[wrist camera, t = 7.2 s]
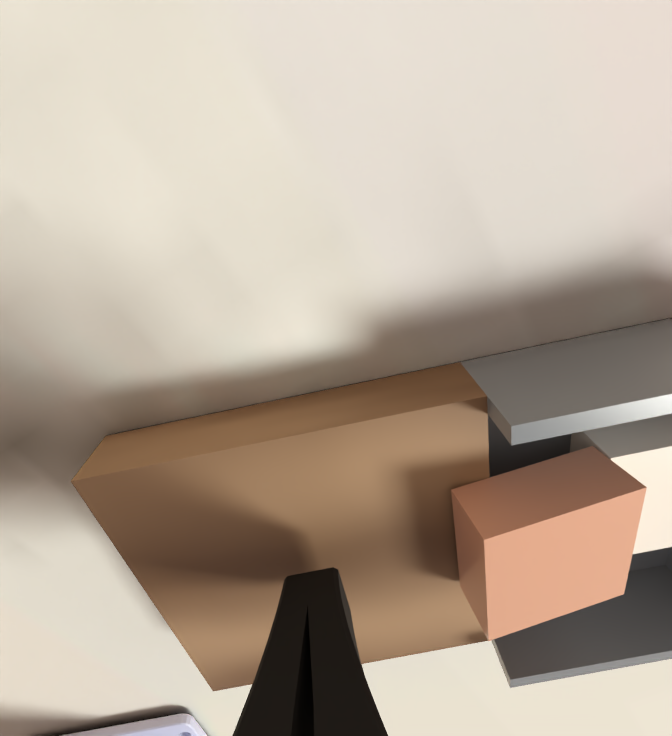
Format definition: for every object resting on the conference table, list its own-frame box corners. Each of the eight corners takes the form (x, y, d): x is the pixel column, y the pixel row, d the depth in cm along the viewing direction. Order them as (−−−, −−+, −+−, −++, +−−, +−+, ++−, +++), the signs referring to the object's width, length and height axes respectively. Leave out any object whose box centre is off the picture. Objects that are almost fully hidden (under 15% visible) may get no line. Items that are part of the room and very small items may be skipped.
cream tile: (684, 495, 13) (731, 535, 11) (563, 518, 13) (595, 561, 12) (712, 393, 11) (773, 425, 10) (572, 421, 11) (611, 458, 10)
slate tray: (667, 561, 15) (745, 645, 12) (475, 597, 15) (509, 687, 13) (740, 303, 10) (892, 349, 8) (459, 362, 11) (511, 426, 8)
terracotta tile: (580, 546, 12) (623, 594, 11) (460, 586, 12) (488, 641, 10) (592, 445, 10) (646, 487, 9) (451, 489, 10) (483, 540, 9)
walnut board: (474, 589, 15) (494, 639, 13) (223, 637, 15) (213, 691, 14) (459, 362, 11) (487, 395, 9) (105, 436, 11) (70, 481, 9)
